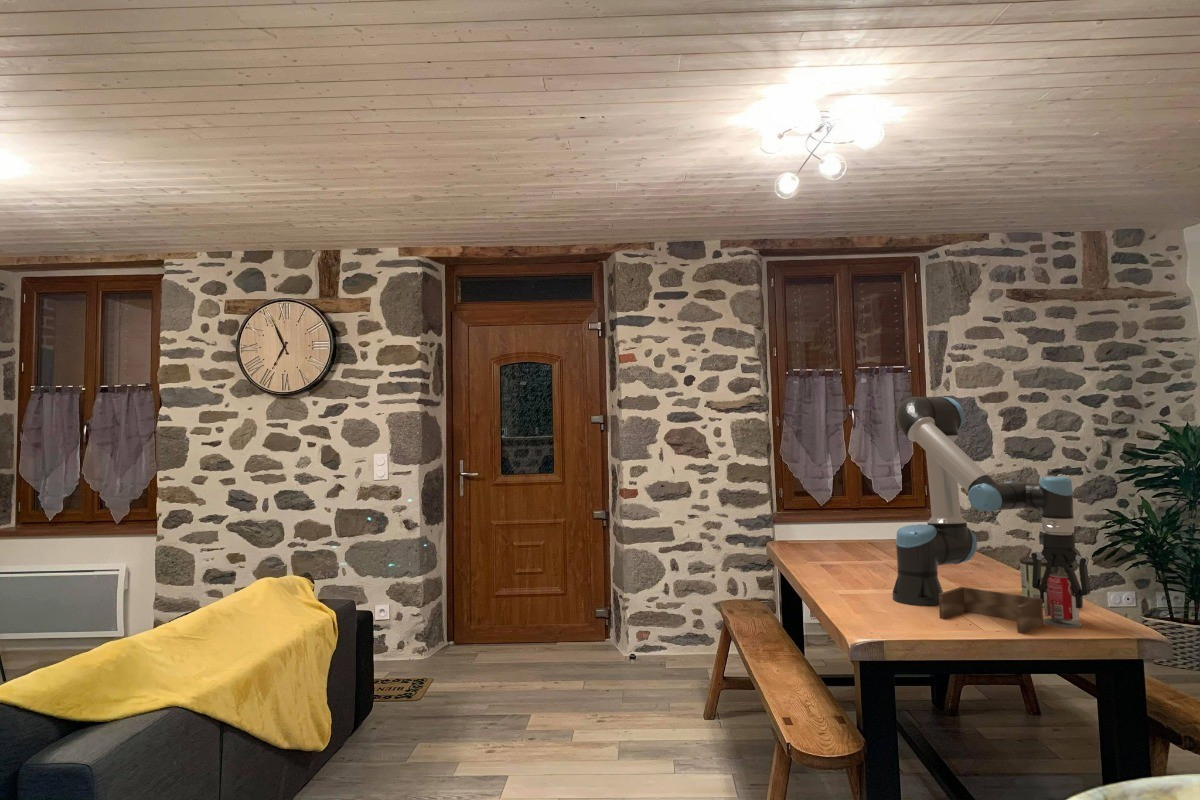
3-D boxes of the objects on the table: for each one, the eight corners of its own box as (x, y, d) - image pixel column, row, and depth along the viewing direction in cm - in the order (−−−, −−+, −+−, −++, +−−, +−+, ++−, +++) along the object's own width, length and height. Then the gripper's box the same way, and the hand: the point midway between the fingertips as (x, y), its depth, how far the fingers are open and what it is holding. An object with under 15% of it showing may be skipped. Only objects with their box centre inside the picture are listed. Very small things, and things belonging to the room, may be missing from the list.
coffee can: (1053, 603, 228) (1050, 556, 228) (1067, 611, 217) (1064, 562, 218) (1016, 602, 230) (1014, 556, 230) (1028, 610, 220) (1026, 562, 220)
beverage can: (1071, 617, 205) (1069, 573, 205) (1078, 622, 199) (1076, 577, 200) (1046, 615, 207) (1044, 572, 207) (1051, 621, 201) (1049, 576, 202)
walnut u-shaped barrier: (939, 619, 211) (938, 593, 211) (962, 611, 219) (961, 586, 220) (1022, 634, 194) (1021, 607, 194) (1043, 625, 202) (1042, 598, 203)
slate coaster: (1037, 624, 204) (1037, 622, 204) (1050, 618, 209) (1050, 616, 209) (1074, 630, 197) (1074, 628, 197) (1087, 624, 202) (1086, 622, 202)
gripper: (1015, 531, 209) (1018, 613, 208) (1093, 537, 194) (1097, 626, 193) (1026, 528, 214) (1029, 609, 213) (1103, 535, 199) (1107, 621, 198)
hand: (1061, 617), depth 203 cm, fingers closed on beverage can, 6 cm apart
